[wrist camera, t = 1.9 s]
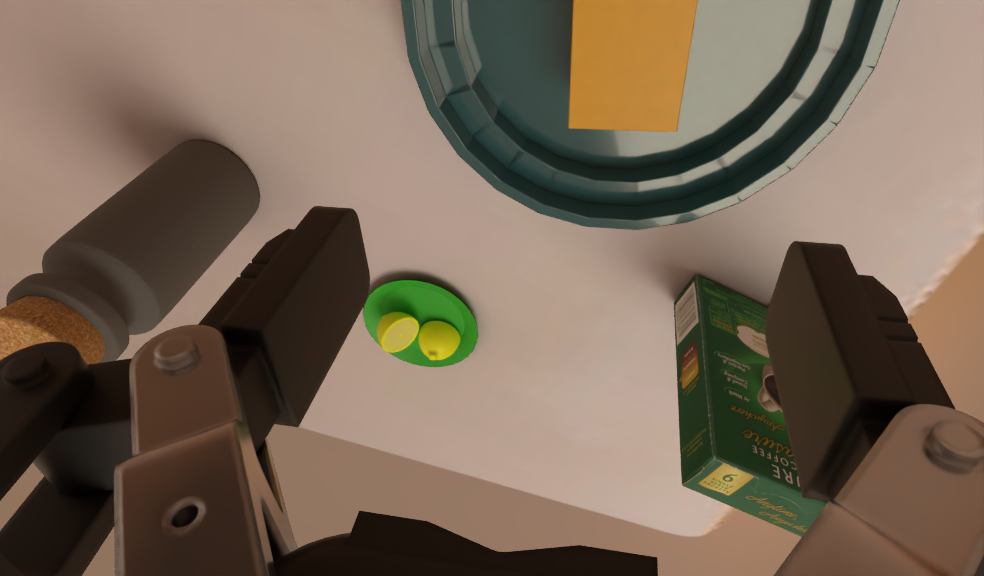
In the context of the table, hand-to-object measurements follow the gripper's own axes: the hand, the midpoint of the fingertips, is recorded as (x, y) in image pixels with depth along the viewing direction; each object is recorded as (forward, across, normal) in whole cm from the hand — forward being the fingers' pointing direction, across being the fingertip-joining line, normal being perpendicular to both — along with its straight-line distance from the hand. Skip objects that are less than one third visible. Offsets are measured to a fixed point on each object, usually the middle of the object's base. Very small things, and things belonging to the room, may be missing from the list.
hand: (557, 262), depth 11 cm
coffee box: (+20, -9, +17) cm, 28 cm away
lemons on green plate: (+20, +10, +21) cm, 31 cm away
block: (+20, -1, 0) cm, 20 cm away
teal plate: (+20, -1, 0) cm, 20 cm away
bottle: (+20, +23, +11) cm, 32 cm away
